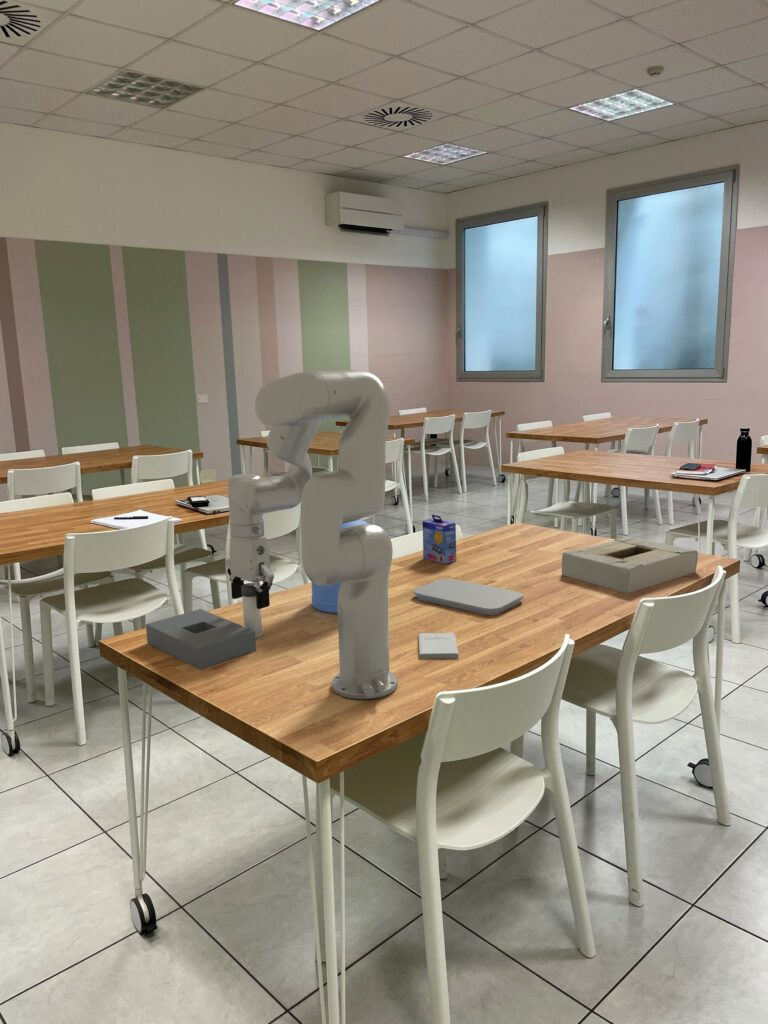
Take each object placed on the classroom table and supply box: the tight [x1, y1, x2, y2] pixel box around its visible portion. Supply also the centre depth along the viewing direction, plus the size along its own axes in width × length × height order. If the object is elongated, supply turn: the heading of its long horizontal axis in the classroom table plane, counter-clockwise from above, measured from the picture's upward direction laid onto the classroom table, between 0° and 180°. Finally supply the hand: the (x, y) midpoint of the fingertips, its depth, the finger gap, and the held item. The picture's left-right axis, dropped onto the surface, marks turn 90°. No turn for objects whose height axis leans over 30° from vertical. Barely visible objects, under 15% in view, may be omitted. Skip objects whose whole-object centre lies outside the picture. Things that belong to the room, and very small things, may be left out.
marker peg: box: [241, 582, 263, 640], centre depth 173 cm, size 4×4×12 cm
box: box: [561, 536, 699, 594], centre depth 216 cm, size 23×8×32 cm
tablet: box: [413, 577, 524, 616], centre depth 197 cm, size 16×26×2 cm, turn 51°
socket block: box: [145, 608, 257, 670], centre depth 167 cm, size 22×14×4 cm, turn 45°
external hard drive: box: [418, 632, 460, 659], centre depth 165 cm, size 2×8×12 cm
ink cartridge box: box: [422, 514, 457, 565], centre depth 235 cm, size 10×6×14 cm, turn 42°
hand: (250, 602), depth 173 cm, fingers open, 9 cm apart
